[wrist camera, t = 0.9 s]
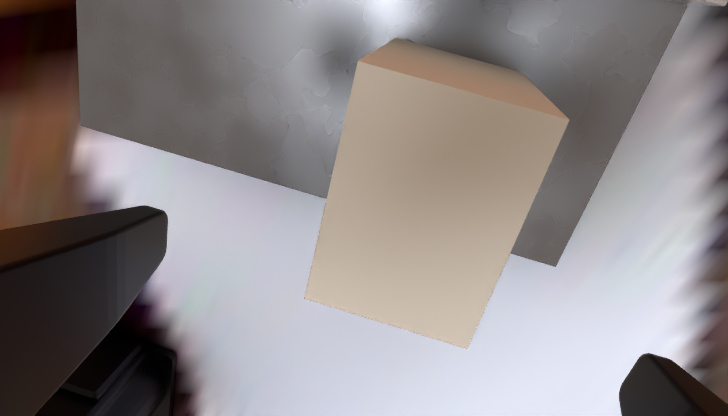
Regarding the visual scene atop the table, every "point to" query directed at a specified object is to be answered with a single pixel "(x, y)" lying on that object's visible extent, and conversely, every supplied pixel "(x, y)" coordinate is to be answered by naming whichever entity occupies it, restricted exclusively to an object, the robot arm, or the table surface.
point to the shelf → (336, 74)
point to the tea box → (430, 188)
